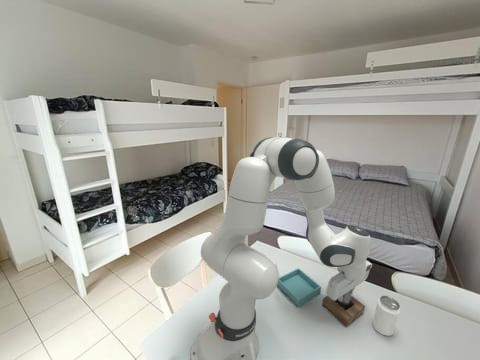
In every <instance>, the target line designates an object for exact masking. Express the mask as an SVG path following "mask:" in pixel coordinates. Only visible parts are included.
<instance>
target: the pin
mask: <svg viewBox="0 0 480 360" xmlns="http://www.w3.org/2000/svg"><path fill="white" fill-rule="evenodd" d="M352 295H353V294H352V290H350V291H349V292H347V293H346V294H344V295H343V296H344V300H343V301H342V302H340V301H339V300H338V303H337V304H338V305H340V306H341V307H342V308H343V309H344V310H345V311H346V310H348V309H349V304H350V300H351V296H352Z"/></svg>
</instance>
